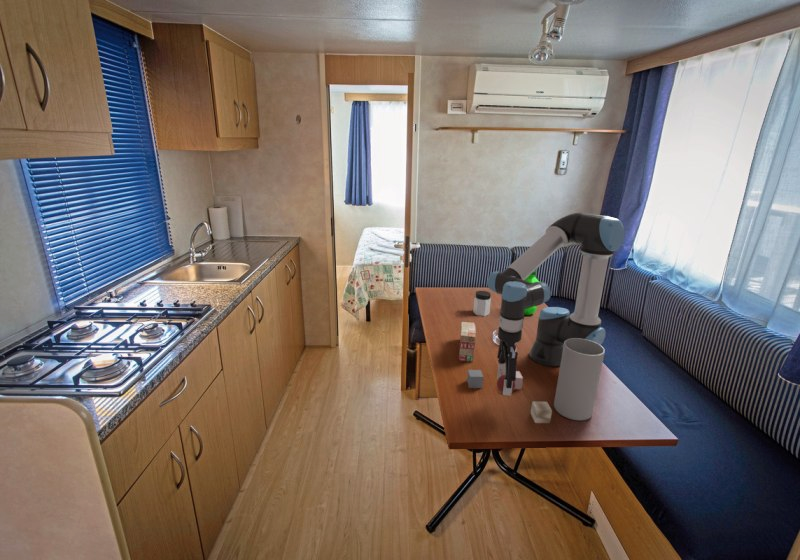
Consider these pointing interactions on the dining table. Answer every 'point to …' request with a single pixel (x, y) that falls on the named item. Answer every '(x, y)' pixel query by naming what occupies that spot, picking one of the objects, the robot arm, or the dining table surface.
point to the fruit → (501, 383)
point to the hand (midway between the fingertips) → (503, 387)
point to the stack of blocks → (467, 341)
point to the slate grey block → (475, 379)
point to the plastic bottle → (531, 279)
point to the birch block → (541, 412)
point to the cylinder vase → (578, 378)
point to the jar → (482, 303)
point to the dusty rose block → (518, 380)
